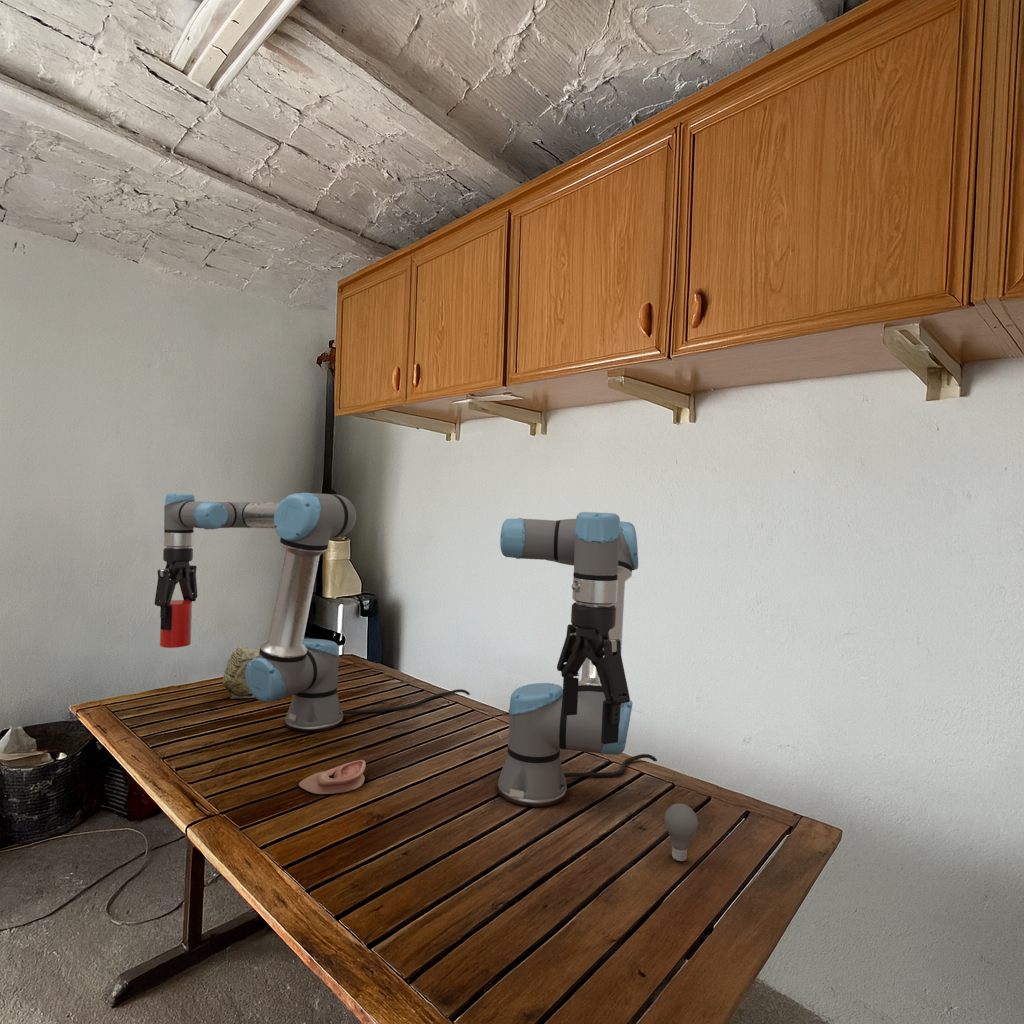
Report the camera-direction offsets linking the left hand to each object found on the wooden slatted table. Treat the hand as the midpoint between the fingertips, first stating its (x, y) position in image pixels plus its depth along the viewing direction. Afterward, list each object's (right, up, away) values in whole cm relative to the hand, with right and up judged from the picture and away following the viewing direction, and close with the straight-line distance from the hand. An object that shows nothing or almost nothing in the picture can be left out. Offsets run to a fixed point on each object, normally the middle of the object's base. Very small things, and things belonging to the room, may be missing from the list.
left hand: (176, 626), depth 182 cm
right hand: (+109, -4, -74) cm, 132 cm away
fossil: (+16, -24, +16) cm, 33 cm away
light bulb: (+127, -31, -66) cm, 146 cm away
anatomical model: (+57, -27, -42) cm, 76 cm away
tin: (0, -5, 0) cm, 5 cm away
